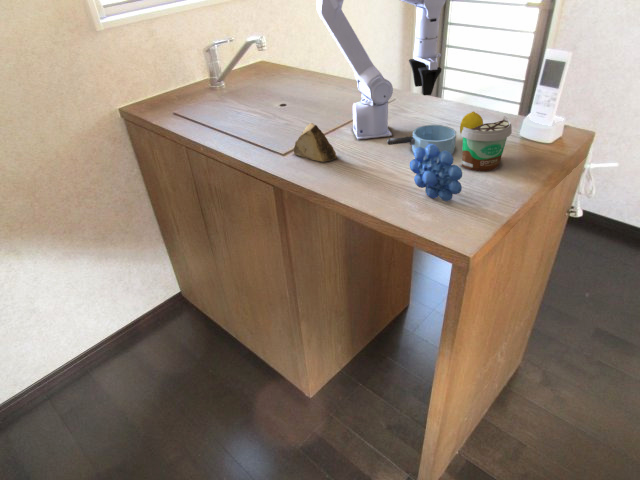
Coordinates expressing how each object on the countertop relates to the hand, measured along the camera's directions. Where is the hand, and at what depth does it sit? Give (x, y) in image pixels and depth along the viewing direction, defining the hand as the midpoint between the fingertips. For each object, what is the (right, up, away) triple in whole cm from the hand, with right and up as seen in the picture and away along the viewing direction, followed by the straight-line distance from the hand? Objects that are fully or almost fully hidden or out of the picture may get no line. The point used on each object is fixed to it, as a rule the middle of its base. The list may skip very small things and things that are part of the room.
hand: (422, 90), depth 122 cm
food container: (+11, -24, -18) cm, 32 cm away
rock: (-30, -20, -7) cm, 36 cm away
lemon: (+10, -16, -6) cm, 20 cm away
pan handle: (-8, -17, -11) cm, 22 cm away
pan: (+1, -18, -9) cm, 20 cm away
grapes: (-5, -33, -28) cm, 43 cm away
